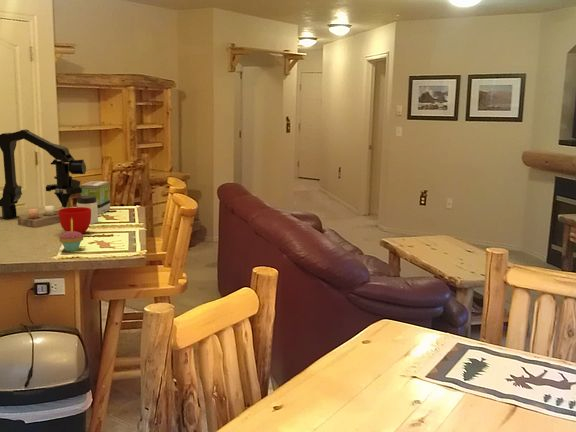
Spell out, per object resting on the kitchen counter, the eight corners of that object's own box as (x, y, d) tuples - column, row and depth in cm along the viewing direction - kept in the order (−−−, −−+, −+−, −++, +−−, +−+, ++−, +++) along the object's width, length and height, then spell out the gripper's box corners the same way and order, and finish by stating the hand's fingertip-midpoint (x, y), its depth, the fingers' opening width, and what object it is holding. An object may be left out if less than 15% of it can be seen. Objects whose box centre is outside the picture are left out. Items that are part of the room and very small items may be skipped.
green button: (59, 215, 282) (58, 207, 281) (66, 214, 286) (65, 206, 285) (64, 216, 280) (64, 208, 279) (71, 215, 284) (71, 206, 283)
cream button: (43, 215, 275) (42, 206, 274) (50, 213, 278) (50, 205, 277) (49, 216, 273) (48, 207, 272) (56, 214, 276) (56, 206, 275)
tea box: (101, 215, 291) (100, 185, 288) (81, 215, 291) (79, 184, 289) (111, 209, 306) (109, 180, 303) (91, 209, 306) (89, 180, 303)
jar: (100, 223, 273) (99, 197, 270) (83, 225, 267) (81, 198, 265) (93, 220, 279) (91, 194, 277) (75, 222, 274) (74, 196, 272)
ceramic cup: (79, 227, 264) (78, 204, 262) (97, 233, 252) (96, 210, 250) (50, 231, 255) (48, 208, 253) (68, 238, 243) (66, 214, 241)
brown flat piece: (18, 224, 269) (17, 218, 268) (64, 215, 290) (63, 209, 289) (35, 227, 262) (34, 220, 262) (81, 218, 284) (80, 211, 283)
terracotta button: (27, 218, 268) (26, 209, 267) (34, 216, 271) (34, 208, 270) (32, 219, 266) (32, 210, 265) (40, 217, 269) (40, 208, 268)
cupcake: (63, 247, 229) (61, 216, 227) (86, 246, 230) (84, 216, 227) (57, 252, 221) (54, 220, 218) (80, 252, 221) (78, 220, 219)
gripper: (90, 173, 281) (92, 206, 284) (63, 171, 291) (65, 202, 294) (70, 176, 272) (73, 210, 275) (43, 173, 281) (46, 206, 284)
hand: (64, 207), depth 282 cm, fingers closed, pressing on green button
